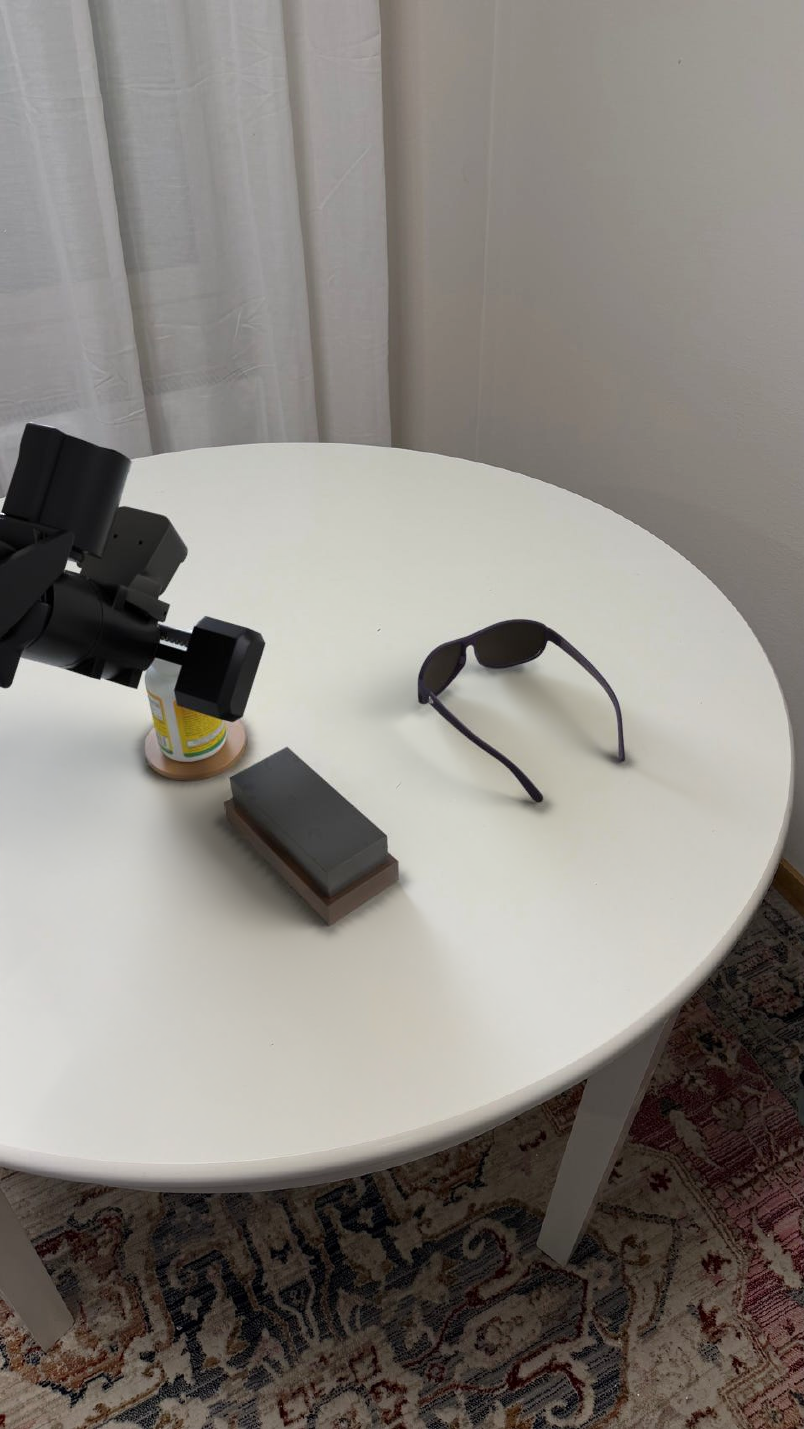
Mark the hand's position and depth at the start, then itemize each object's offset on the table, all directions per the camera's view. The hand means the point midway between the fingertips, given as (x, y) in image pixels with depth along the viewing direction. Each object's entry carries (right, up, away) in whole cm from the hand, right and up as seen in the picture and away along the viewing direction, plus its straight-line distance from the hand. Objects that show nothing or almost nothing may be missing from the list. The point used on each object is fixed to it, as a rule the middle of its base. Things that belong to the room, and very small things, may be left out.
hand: (192, 662), depth 76 cm
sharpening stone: (+9, -14, -5) cm, 17 cm away
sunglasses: (+26, -5, +5) cm, 27 cm away
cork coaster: (-1, -6, +4) cm, 7 cm away
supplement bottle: (-1, -6, +3) cm, 7 cm away
